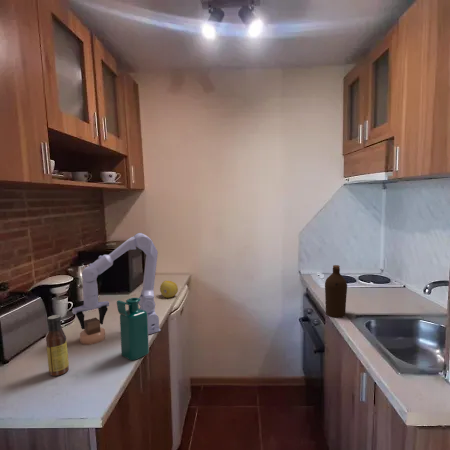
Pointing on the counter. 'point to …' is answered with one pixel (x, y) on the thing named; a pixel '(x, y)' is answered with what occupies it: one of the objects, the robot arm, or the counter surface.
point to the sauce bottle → (56, 347)
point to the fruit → (168, 289)
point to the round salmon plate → (92, 337)
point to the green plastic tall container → (133, 329)
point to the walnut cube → (92, 326)
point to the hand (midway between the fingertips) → (92, 326)
